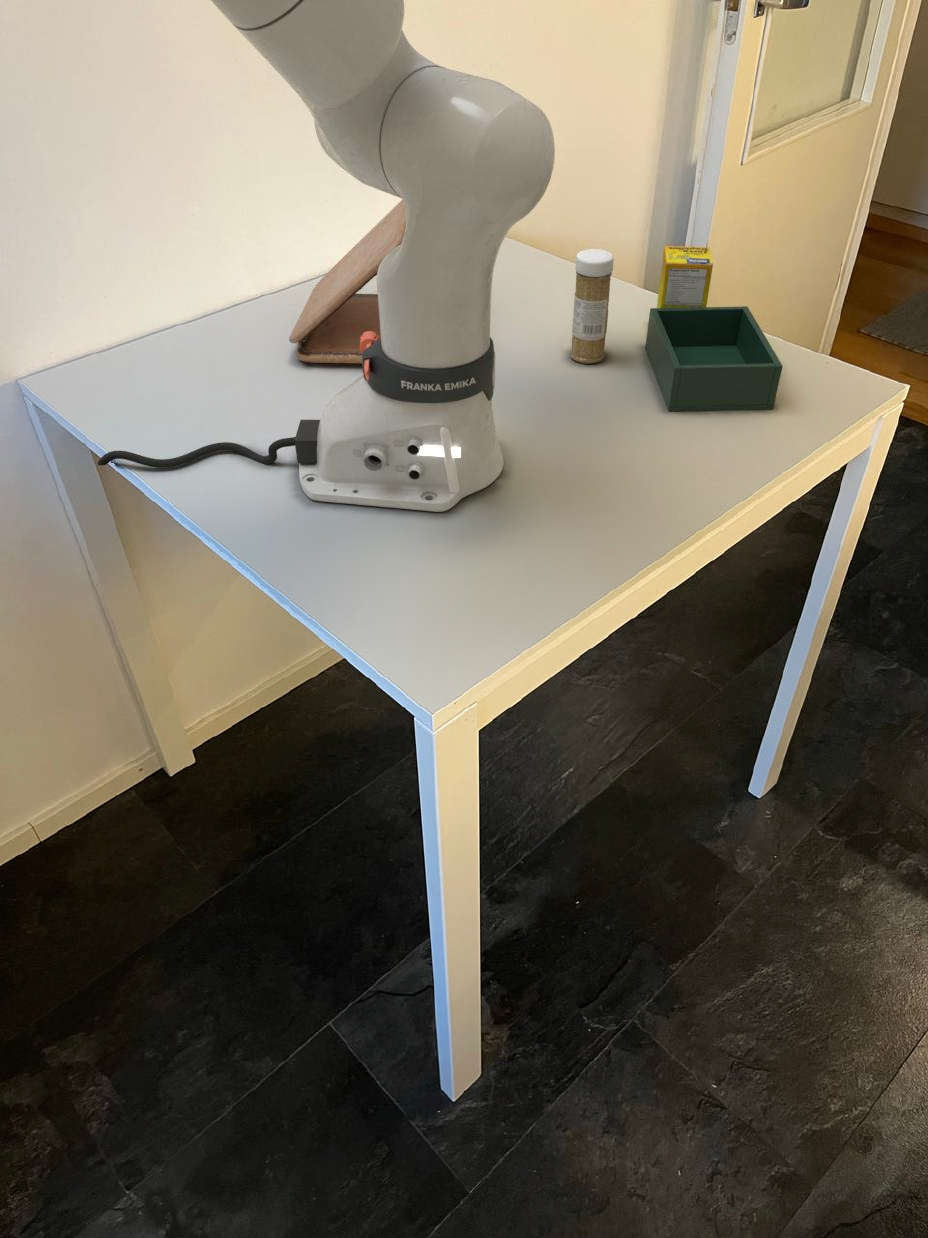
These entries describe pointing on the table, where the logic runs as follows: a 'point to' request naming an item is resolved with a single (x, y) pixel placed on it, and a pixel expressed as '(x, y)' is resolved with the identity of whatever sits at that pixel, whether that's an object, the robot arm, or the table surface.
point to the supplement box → (685, 277)
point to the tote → (712, 359)
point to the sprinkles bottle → (591, 305)
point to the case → (347, 298)
